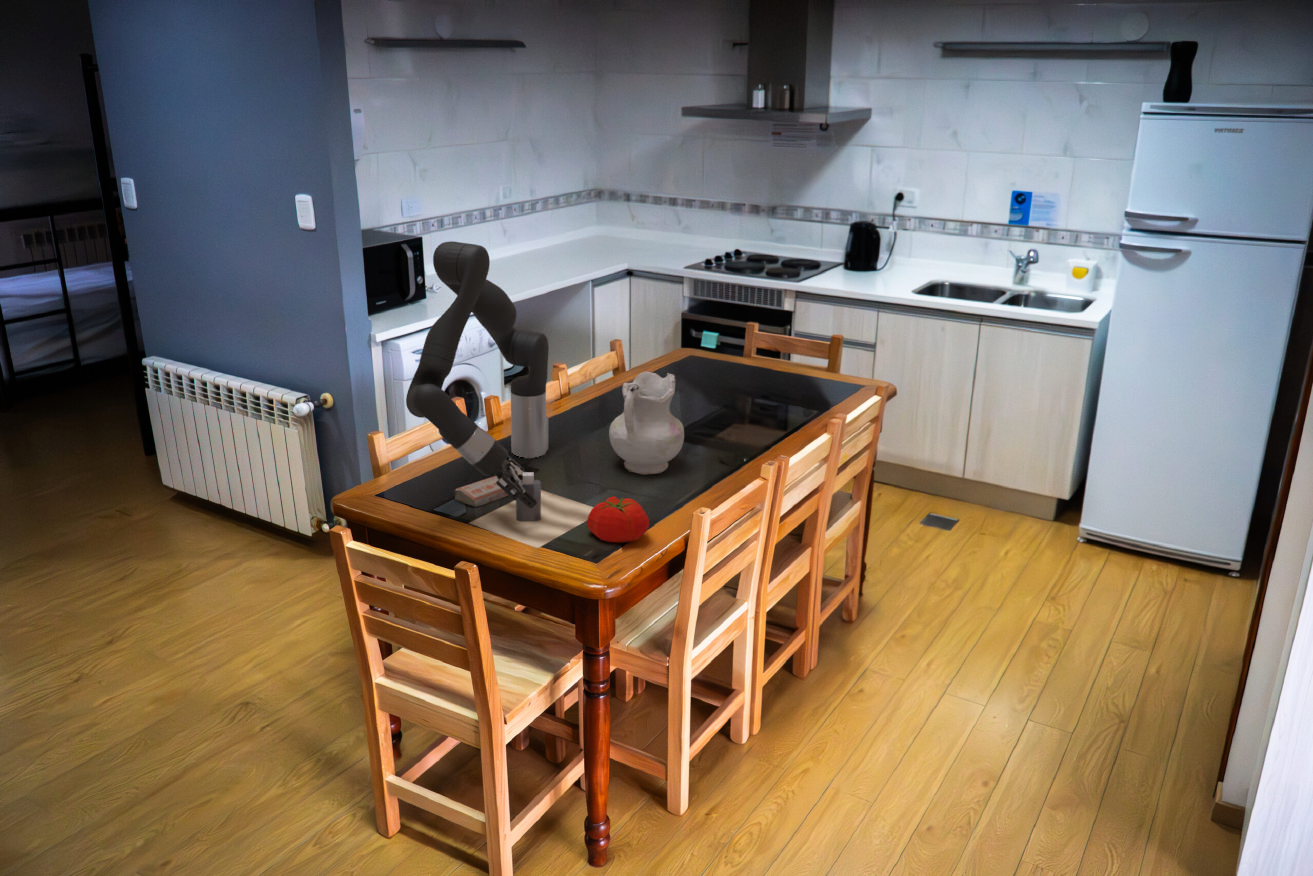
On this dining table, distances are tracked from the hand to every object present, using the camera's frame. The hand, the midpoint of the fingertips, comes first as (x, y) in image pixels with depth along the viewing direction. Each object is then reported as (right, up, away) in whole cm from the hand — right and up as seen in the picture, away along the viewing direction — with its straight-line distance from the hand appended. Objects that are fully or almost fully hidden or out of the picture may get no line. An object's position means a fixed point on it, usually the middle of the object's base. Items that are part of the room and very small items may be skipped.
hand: (534, 497), depth 227 cm
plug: (-1, -5, +2) cm, 5 cm away
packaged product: (-13, -2, +14) cm, 19 cm away
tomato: (+19, -9, -2) cm, 21 cm away
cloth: (0, -6, +3) cm, 7 cm away
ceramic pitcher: (+24, +6, +36) cm, 44 cm away
